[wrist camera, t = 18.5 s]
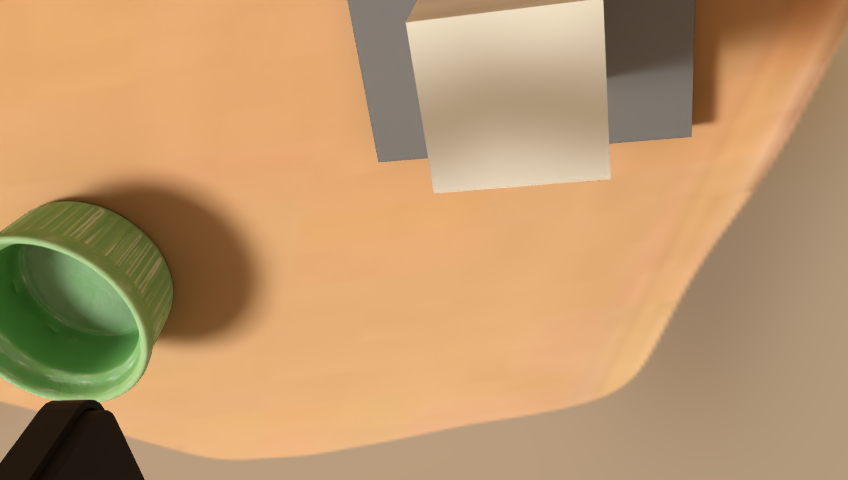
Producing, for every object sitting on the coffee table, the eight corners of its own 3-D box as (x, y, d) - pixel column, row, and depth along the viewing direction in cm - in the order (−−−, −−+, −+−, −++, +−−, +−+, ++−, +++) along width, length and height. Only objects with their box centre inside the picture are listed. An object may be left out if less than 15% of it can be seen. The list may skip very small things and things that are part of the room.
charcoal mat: (333, -111, 27) (327, -107, 27) (694, -164, 25) (699, -161, 24) (382, 151, 32) (378, 162, 32) (687, 126, 30) (691, 136, 29)
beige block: (438, -43, 27) (405, 22, 20) (586, -64, 26) (603, -2, 20) (457, 94, 30) (434, 193, 23) (593, 80, 29) (610, 178, 22)
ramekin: (225, 298, 38) (190, 357, 34) (101, 370, 41) (58, 431, 37) (87, 152, 34) (32, 200, 31) (-34, 244, 38) (-97, 297, 34)
